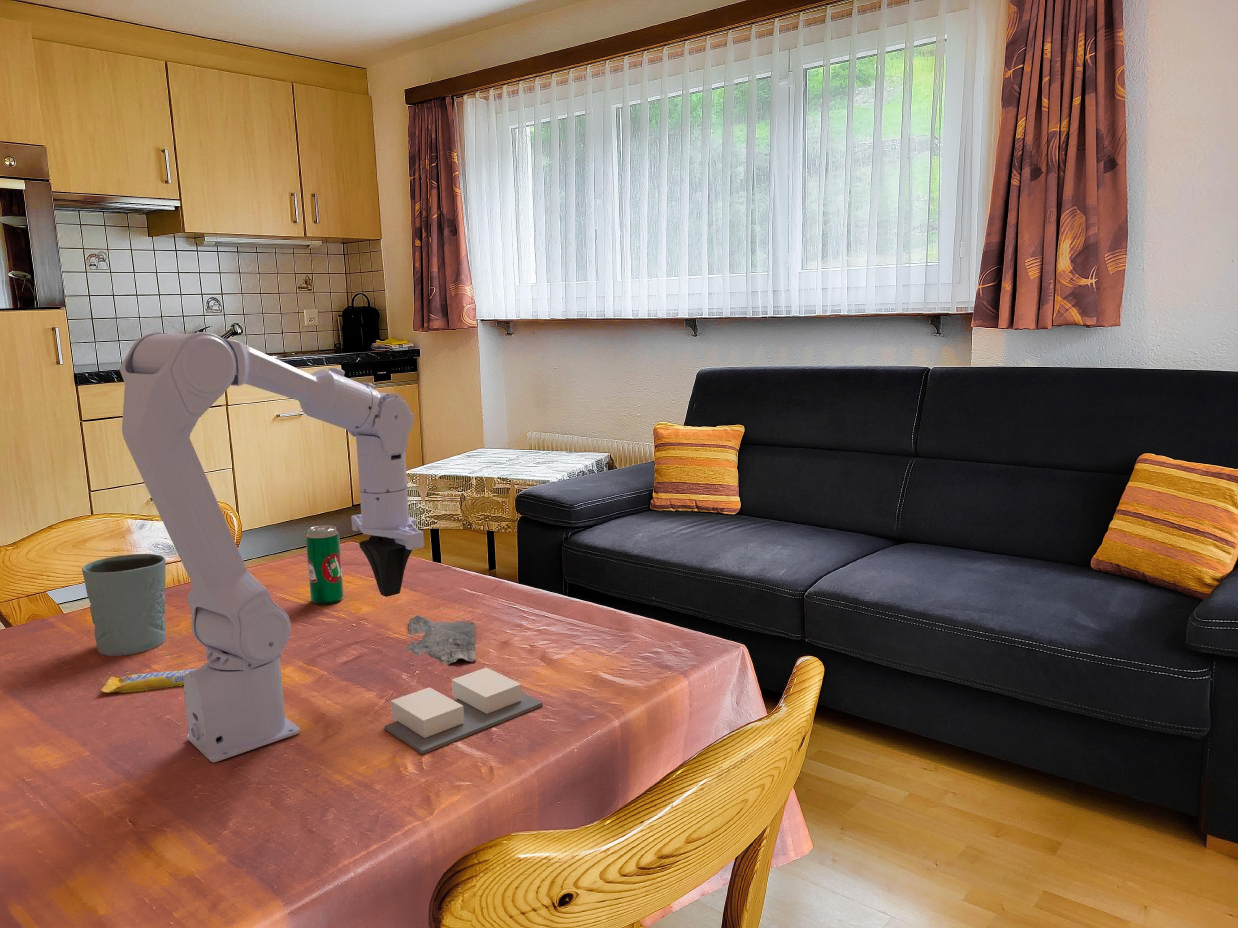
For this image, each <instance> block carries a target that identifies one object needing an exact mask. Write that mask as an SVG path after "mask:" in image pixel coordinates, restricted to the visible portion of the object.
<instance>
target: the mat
mask: <svg viewBox="0 0 1238 928" xmlns="http://www.w3.org/2000/svg"><path fill="white" fill-rule="evenodd" d="M453 700H454V701H455V702H457V703H459V704H461V705H463V710H464V723H462V724H460V725H458V726H455V727H453V728H450V729H448V730H445V731H442V732H440V733H437V734H435V735H432V736H430V737H427V738H424V737H422V736H421V735H419V734H418V733H416V732H414V731H413V730H411V729H410V728H408V727H406V726H405V725H403V724H402V723H400V722H398V721H397V720H395V721H393V722H391V723H389V724H386V725H384V727H383V728H384V730H385V731H387V732H388V733H390V734H391V735H393V736H395V737H396V738H397V739H398V740H401V741H402V742H403V743H405V744H406V745H408V746H410V747H411V748H412V749H413V750H416V751H417V752H419V753H420V754H422V755H424V754H427V753H429V752H431V751H434V750H437V749H439V748H442V747H444V746H447V745H448V744H452V743H454V742H456V741H459V740H462V739H464V738H466V737H468V736H471V735H474V734H476V733H479V732H481V731H484V730H486V729H488V728H491V727H494V726H496V725H499V724H501V723H504V722H506V721H508V720H511V719H513V718H516V717H518V716H521V715H523V714H526V713H528V712H530V711H534V710H537V709H539V708H541V707H543V706H544V705H543V704H544V703H543V702H542V701H540V700H538V699H536V698H534V697H532V696H530V695H528V694H526V693H524V692H522V700H521V701H519V702H517V703H514V704H512V705H509V706H506V707H504V708H501V709H499V710H496V711H494V712H491V713H489V714H486V713H484V712H482V711H480V710H478V709H477V708H475V707H473V706H471V705H469V704H467V703H465V702H464V701H462V700H460V699H458V698H456V699H453Z"/></svg>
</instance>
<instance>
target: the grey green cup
mask: <svg viewBox="0 0 1238 928" xmlns="http://www.w3.org/2000/svg"><path fill="white" fill-rule="evenodd" d="M166 562H167V561H166V558H165V556H163V555H160V554H155V553H134V554H133V553H132V554H131V553H130V554H123V555H116V556H115V555H114V556H110V557H105V558H100V559H96V560H95V561H91V562H89V563H87V564H85V565H83V567H82V568H81V572H82V575H83V579H84V580H83V581H84V584H85V585H84V586H85V590H86V595H87V599H88V600H89V604H90V605H89V611H90V615H91V620H92V624H93V625H94V638H95V642H96V648H97V652H98V653H99V654H101V655H103V656H107V657H108V656H109V657H120V656H122V655H123V656H129V655H134V654H135V655H137V654H140V653H144V652H147V650H148V651H149V650H150V649H151V650H153V649H156V648H158V647H159V645H160V646H162V644H164V643H165V641H166V639H167V637H166V636H167V633H166V631H167V630H166V629H167V626H166V623H167V622H166V618H165V614H166V595H165V594H164V593H165V590H166ZM157 646H158V647H157ZM155 647H156V648H155ZM151 650H150V651H151ZM139 652H140V653H139Z"/></svg>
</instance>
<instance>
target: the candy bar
mask: <svg viewBox="0 0 1238 928" xmlns="http://www.w3.org/2000/svg"><path fill="white" fill-rule="evenodd" d="M196 669H197V668H192V669H189V668H188V669H183V670H182V669H181V670H171V671H170V670H169V671H161V672H160V671H158V672H149V673H137V674H136V673H135V674H128V675H125V676H121V677H115V676H110V677H109V678H108V680H106V682H105V684H104V686H102V687H101V688H100V691H101V692H103V693H107V694H110V693H136V692H137V691H138V692H145V691H153V689H155V690H160V688H161V690H162V688H163V689H169V688H168V687H171V688H176V687H175V686H180V685H181V686H180V687H183V686H182V685H184V678H185V675H186V674H187V673H189V672H191V671H194V670H196ZM173 686H174V687H173ZM151 689H152V690H151ZM144 690H145V691H144Z"/></svg>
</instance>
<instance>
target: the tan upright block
mask: <svg viewBox="0 0 1238 928" xmlns="http://www.w3.org/2000/svg"><path fill="white" fill-rule="evenodd" d="M451 693H452V694H451V695H452V697H454V698H456V699H460V700H462V701H464V702H465V703H467V704H469V705H471V706H473V707H475V708H477V709H478V710H480V711H482V712H484V713H486V714H489V713H491V712H494V711H496V710H499V709H501V708H504V707H506V706H509V705H512V704H514V703H517V702H519V701H521V700H522V693H523V692H522V683H520V682H518V681H516V680H514V679H511V678H509V677H507V676H505V675H504V674H501V673H499V672H497V671H495V670H493V669H490V668H488V667H484V668H481V669H478V670H476V671H472V672H470V673H466V674H464V675H461V676H458V677H455V678H451Z"/></svg>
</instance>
